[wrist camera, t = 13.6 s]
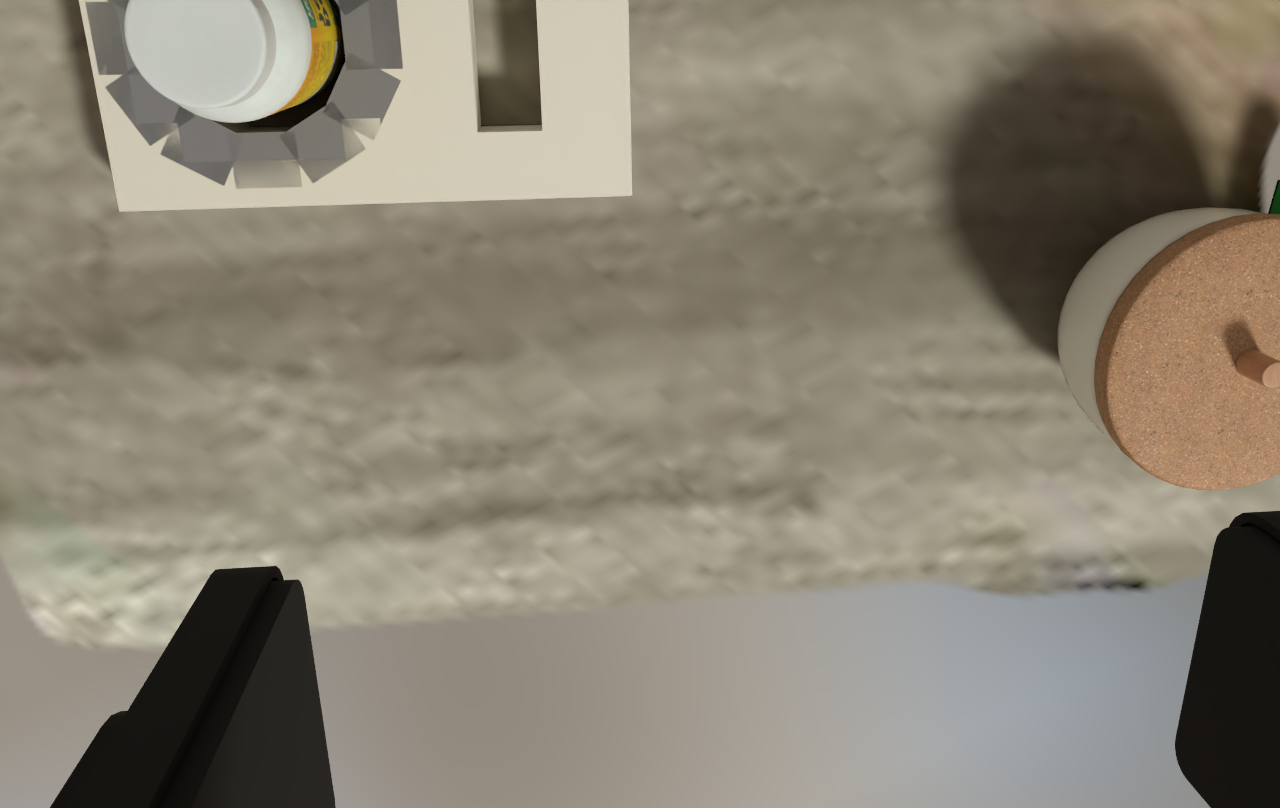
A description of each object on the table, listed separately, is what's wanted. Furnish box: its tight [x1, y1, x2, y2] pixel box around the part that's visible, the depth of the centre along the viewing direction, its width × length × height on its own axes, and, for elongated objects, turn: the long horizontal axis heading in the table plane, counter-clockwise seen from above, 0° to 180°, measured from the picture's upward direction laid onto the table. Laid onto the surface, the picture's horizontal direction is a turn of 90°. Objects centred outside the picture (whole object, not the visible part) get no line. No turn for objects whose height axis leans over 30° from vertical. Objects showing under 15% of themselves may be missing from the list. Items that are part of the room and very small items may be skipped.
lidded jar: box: [1057, 207, 1280, 490], centre depth 41 cm, size 11×11×9 cm
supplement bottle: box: [124, 0, 344, 123], centre depth 34 cm, size 5×5×10 cm
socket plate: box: [79, 0, 632, 212], centre depth 38 cm, size 19×12×2 cm, turn 91°
